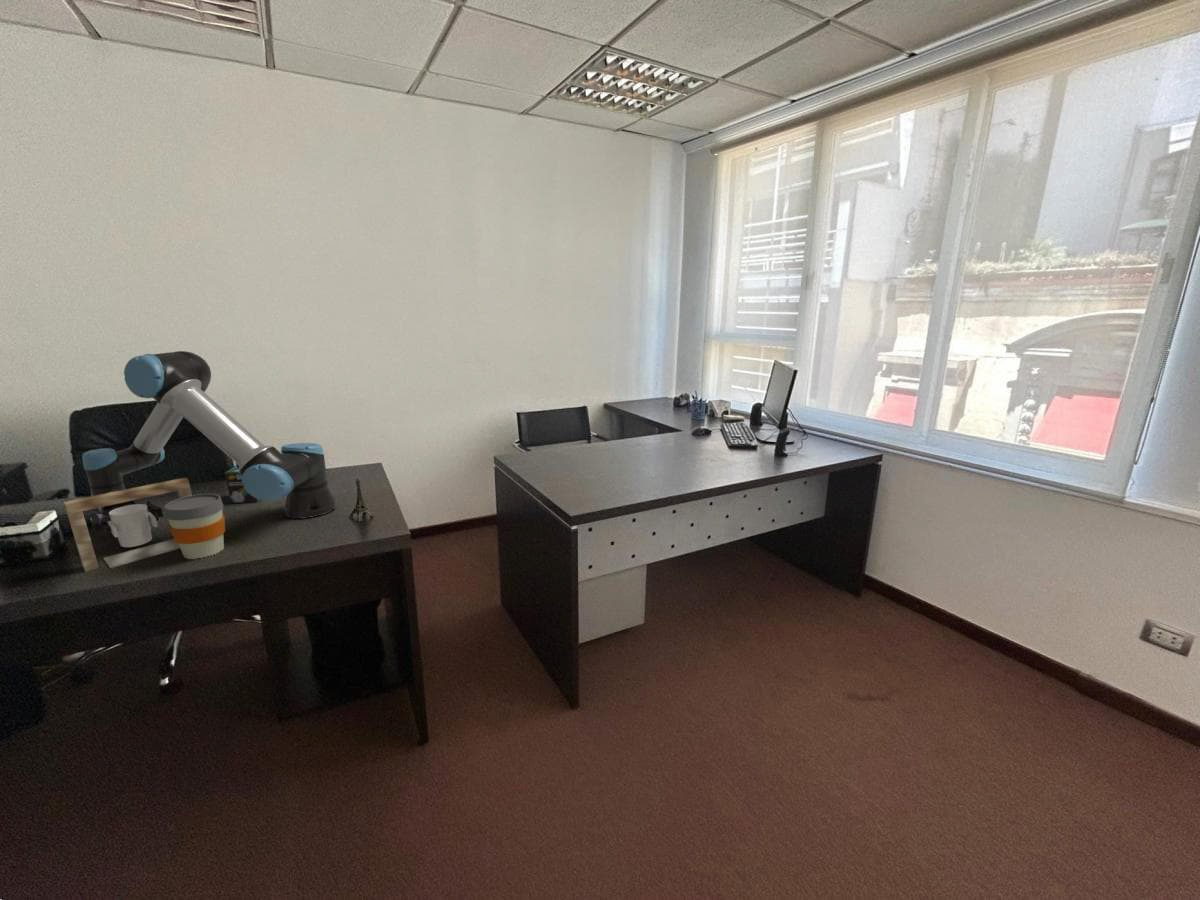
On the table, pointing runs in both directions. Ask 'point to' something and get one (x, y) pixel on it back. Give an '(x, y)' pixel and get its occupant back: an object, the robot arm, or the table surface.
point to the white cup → (132, 525)
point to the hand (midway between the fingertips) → (135, 527)
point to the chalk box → (237, 487)
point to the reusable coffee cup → (197, 524)
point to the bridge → (83, 504)
